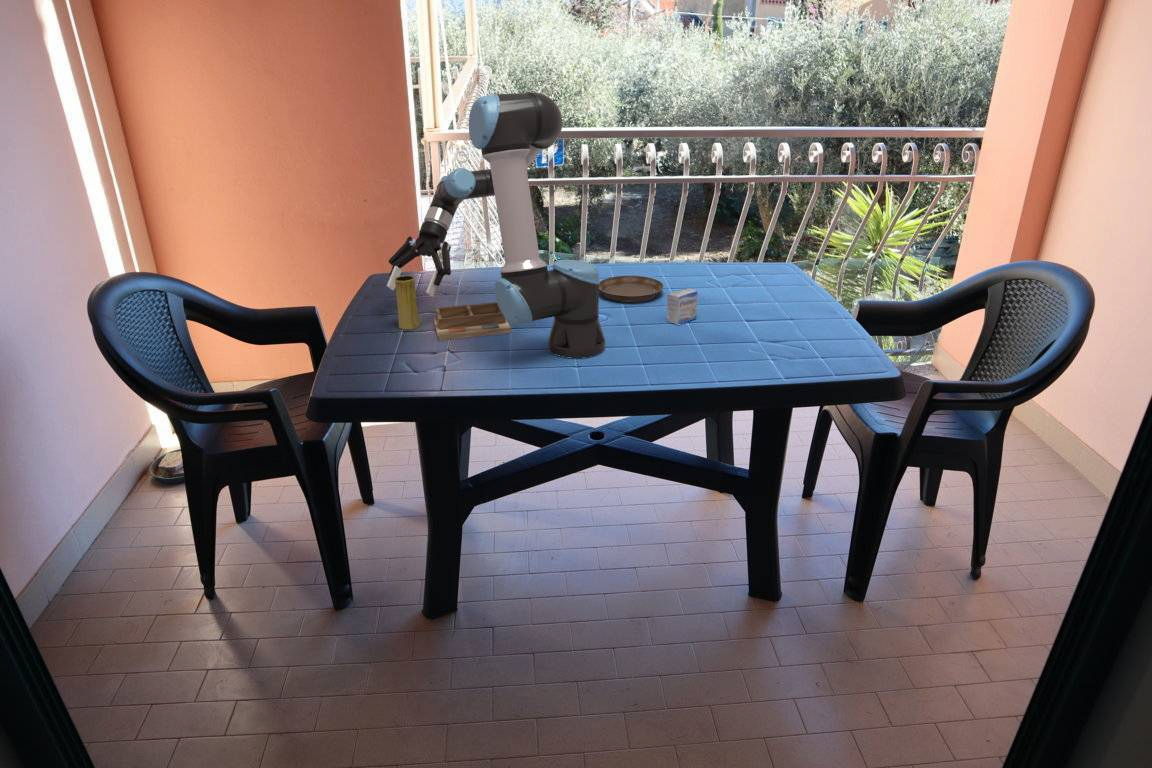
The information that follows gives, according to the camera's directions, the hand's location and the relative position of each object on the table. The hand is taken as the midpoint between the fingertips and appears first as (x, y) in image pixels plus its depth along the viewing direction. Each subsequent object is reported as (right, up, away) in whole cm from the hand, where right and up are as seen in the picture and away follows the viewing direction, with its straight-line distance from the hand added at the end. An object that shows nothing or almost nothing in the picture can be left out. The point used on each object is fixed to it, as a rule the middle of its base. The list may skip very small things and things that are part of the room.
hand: (409, 291), depth 222 cm
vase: (0, -10, +2) cm, 10 cm away
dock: (+18, -10, 0) cm, 20 cm away
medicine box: (+77, -8, +4) cm, 78 cm away
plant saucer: (+64, +2, +25) cm, 69 cm away
